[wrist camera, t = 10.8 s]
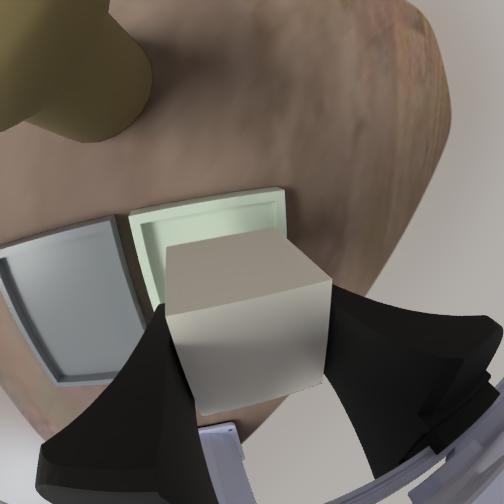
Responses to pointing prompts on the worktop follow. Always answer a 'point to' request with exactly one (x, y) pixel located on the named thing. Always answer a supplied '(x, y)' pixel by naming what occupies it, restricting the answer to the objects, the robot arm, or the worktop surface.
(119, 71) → the cork
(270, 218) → the tray
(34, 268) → the tray
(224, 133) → the worktop surface
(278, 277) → the stone block
